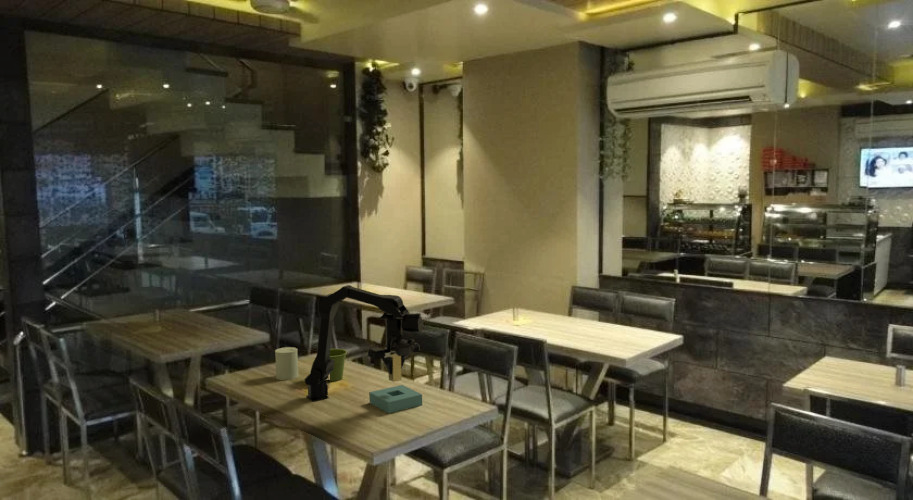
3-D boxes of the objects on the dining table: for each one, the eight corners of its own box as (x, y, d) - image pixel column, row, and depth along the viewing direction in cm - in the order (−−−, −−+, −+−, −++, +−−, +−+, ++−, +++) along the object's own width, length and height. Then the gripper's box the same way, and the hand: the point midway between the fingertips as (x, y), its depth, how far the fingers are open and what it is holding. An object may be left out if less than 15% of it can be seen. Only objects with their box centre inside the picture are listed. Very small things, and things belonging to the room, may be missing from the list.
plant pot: (314, 378, 269) (313, 351, 268) (339, 373, 276) (339, 347, 275) (326, 385, 260) (325, 357, 259) (353, 379, 267) (352, 352, 266)
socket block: (388, 413, 227) (388, 402, 227) (369, 402, 239) (369, 392, 238) (422, 405, 235) (422, 394, 235) (402, 395, 247) (402, 384, 246)
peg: (393, 381, 234) (392, 357, 233) (388, 379, 236) (388, 355, 236) (401, 380, 236) (400, 355, 235) (396, 377, 238) (396, 353, 237)
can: (295, 380, 267) (294, 351, 266) (273, 380, 268) (271, 351, 266) (301, 373, 277) (300, 345, 275) (279, 373, 277) (278, 346, 275)
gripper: (382, 339, 222) (383, 383, 224) (427, 331, 233) (428, 373, 235) (366, 333, 231) (367, 376, 233) (411, 326, 242) (412, 366, 244)
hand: (394, 373), depth 236 cm, fingers closed on peg, 3 cm apart
